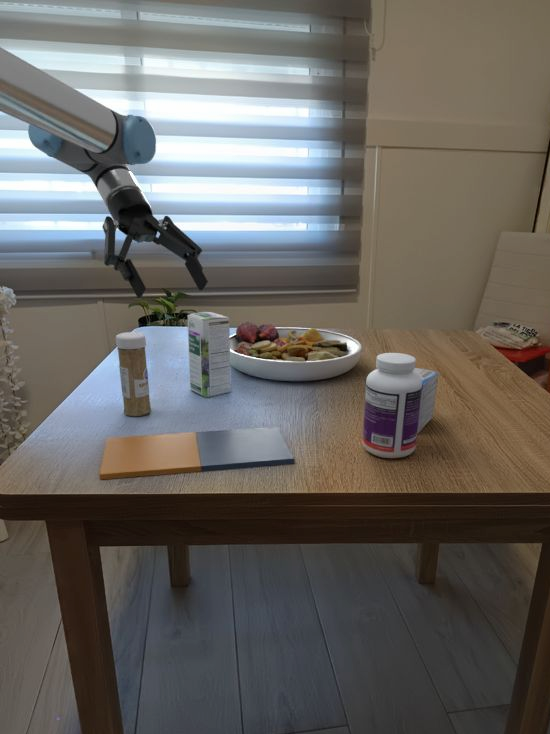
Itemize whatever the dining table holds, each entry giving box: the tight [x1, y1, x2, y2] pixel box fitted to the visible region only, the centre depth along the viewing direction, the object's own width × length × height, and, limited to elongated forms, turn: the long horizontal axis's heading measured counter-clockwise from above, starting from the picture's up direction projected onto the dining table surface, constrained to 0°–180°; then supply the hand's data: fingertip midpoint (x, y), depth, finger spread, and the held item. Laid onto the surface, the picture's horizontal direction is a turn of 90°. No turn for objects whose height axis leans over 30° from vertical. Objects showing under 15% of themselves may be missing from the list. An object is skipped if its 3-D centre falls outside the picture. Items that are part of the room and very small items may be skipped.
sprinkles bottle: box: [115, 331, 152, 417], centre depth 95 cm, size 5×5×13 cm
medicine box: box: [413, 367, 439, 435], centre depth 95 cm, size 8×4×9 cm, turn 152°
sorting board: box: [99, 426, 295, 481], centre depth 83 cm, size 26×12×1 cm, turn 105°
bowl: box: [230, 321, 362, 382], centre depth 125 cm, size 30×30×8 cm
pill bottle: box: [362, 352, 422, 459], centre depth 84 cm, size 8×8×14 cm
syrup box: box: [187, 311, 231, 398], centre depth 106 cm, size 6×6×14 cm
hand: (174, 289), depth 108 cm, fingers open, 13 cm apart
